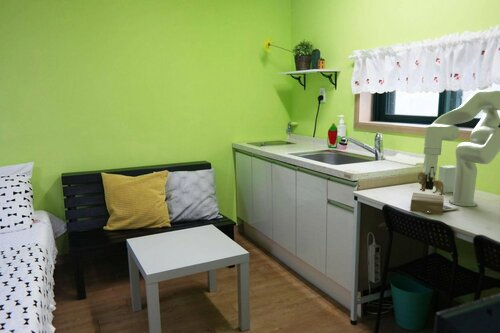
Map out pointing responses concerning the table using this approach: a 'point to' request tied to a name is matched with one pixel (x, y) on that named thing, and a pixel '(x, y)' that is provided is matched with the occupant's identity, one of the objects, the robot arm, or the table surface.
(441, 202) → the walnut box
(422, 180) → the lion figurine
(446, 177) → the skincare box
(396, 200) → the table surface
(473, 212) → the table surface
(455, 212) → the table surface
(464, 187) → the robot arm
